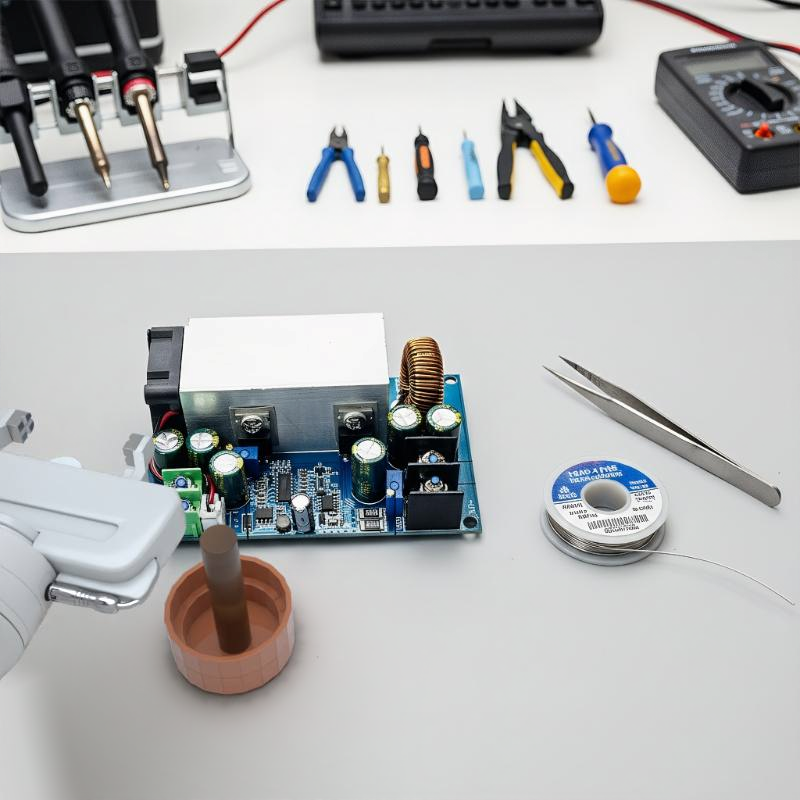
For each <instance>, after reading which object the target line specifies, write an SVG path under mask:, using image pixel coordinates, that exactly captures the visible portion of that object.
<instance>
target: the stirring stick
mask: <svg viewBox="0 0 800 800" xmlns="http://www.w3.org/2000/svg"><path fill="white" fill-rule="evenodd" d="M199 547H200V553H201V557H202V558H201V559H202V561H203V563H204V568H205V574H206V579H207V584H208V589H209V595H210V600H211V605H212V611H213V616H214V621H215V626H216V632H217V637H218V642H219V646H220V648H221V649H222V650H223V651H225V652H226V653H229V654H238V653H241V652H243V651H245V650H246V649H247V648H248V647H249V645H250V643H251V640H252V636H251V629H250V622H249V615H248V608H247V601H246V595H245V588H244V581H243V574H242V567H241V560H240V555H241V553H240V548H239V540H238V533H237V532H236V531H235V529H234V528H232V527H231V526H229V525H227V524H221V523H220V524H214V525H210V526H209V527H207V528H205V529H204V531H202V532H201V534H200V537H199Z"/></svg>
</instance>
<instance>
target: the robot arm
mask: <svg viewBox="0 0 800 800" xmlns="http://www.w3.org/2000/svg"><path fill="white" fill-rule="evenodd" d="M34 429H35V421H34V419H32V413H31V412H28V411H24V410H20V409H15V408H9V409H8V410H7V411H6V412H5V414H4V415H3V416H2V418H1V419H0V681H1V680H2V679H3V678H4V677H5V676H6V675H7V674H8V673H9V672H10V671H11V670H12V669H13V668H14V667H15V666H16V665H17V664H18V663H19V661H20V660H21V659H22V657H23V655H24V653H25V652H26V650H27V648H28V646H29V645H30V643H31V641H32V639H33V638H34V636H35V634H36V633H37V631H38V629H39V628H40V626H41V624H42V623H43V621H44V620H45V618H46V616H47V614H48V613H49V611H50V610H51V608H52V606H53V604H54V603H59V604H64V605H68V606H73V607H81V608H82V607H83V608H89V609H93V610H94V611H95V612H99V613H102V614H107V615H108V614H109V615H112V614H114V615H115V614H117V613H118V612H120V611H121V610H128V609H129V610H130V609H133V608H135V607H137V606H141V605H143V604H144V603H146V601H147V600H148V598H150V596H151V594H152V592H153V590H154V588H155V586H156V585H157V583H158V580H159V577H160V572H161V571H162V570H163V568H164V567H165V566H166V564H167V563H168V561H169V559H170V558H171V557H172V555H173V553H174V552H175V551H176V549H177V548H178V546H179V544H180V542H181V541H182V540H183V537H184V535H185V533H186V530H187V515H186V510H185V506H184V503H183V500H182V499H181V497H180V494H179V492H178V490H177V489H176V488H175V487H172V486H168V485H163V484H159V483H154V482H150V480H149V473H148V466H149V464H150V462H151V461H152V459H153V457H154V455H155V452H156V451H155V450H156V446H155V441H154V438H153V436H150V435H149V436H148V435H145V434H140V433H130V435H129V437H128V438H129V440H126V442H125V443H124V444H123V446H122V452H123V455H124V456H125V458H124V460H125V464H126V466H128V467H133V468H134V469H133V468H126V469H125V470H124V472H123V474H122V475H121V476H120V475H115V474H111V473H106V472H101V471H96V470H92V469H86V468H83V467H82V468H83V469H82V468H78V467H73V466H68V465H63V464H59V463H54V462H49V461H50V460H44V459H39V458H34V457H29V456H26V455H25V456H24V455H21V454H20V455H19V454H15V453H10V452H7V451H1V450H3V449H5V448H6V447H8V446H9V445H11V444H13V443H18V444H24V443H26V440H27V439H28V438H29V437H28V435H30V434H32V432H33V431H34Z"/></svg>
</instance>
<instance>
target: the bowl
mask: <svg viewBox="0 0 800 800" xmlns="http://www.w3.org/2000/svg"><path fill="white" fill-rule="evenodd" d="M240 560H241V567H242V574H243V581H244V588H245V595H246V601H247V608H248V615H249V622H250V629H251V636H252V640H251V643H250V645H249V647H248V648H247V649H246V650H245V651H243V652H241V653H238V654H229V653H226V652H225V651H223V650H222V649H221V648H220V646H219V642H218V637H217V632H216V626H215V621H214V616H213V611H212V605H211V600H210V595H209V589H208V584H207V579H206V574H205V568H204V563H203V560H202V561H200V562H198V563H197V564H195V565H193V566H192V567H191V568H189V569H188V570H186V571H185V572H183V573H182V575H181V576H180V577H179V578H178V579H177V580H176V581H175V583H174V584H173V585H172V586H171V588H170V590H169V592H168V595H167V598H166V600H165V602H164V612H163V613H164V616H163V622H164V625H165V629H166V633H167V637H168V641H169V645H170V649H171V653H172V656H173V659H174V662H175V665H176V668H177V670H178V671H179V672H180V673H181V674H182V675H183V677H184V678H185V679H186V680H187V681H188V682H189V683H190V684H192V685H193V686H195V687H197V688H199V689H201V690H203V691H206V692H210V693H215V694H220V695H221V694H222V695H232V694H243V693H247V692H250V691H252V690H255V689H257V688H260V687H262V686H264V685H265V684H266V683H268V682H269V681H271V680H272V679H273V678H274V677H275V676H277V675H278V674H279V673H281V672H282V670H283V668H284V667H285V666H286V664H287V663H288V661H289V660H290V658H291V655H292V652H293V649H294V645H295V643H296V642H295V641H296V637H295V634H296V633H295V622H294V609H293V599H292V591H291V589H290V587H289V585H288V582H287V580H286V578H285V577H284V575H283V574H282V573H281V572H279V570H278V569H277V568H275V566H274V565H272V564H271V563H268V562H266V561H264V560H262V559H260V558H258V557H255V556H250V555H244V554H240Z"/></svg>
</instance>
